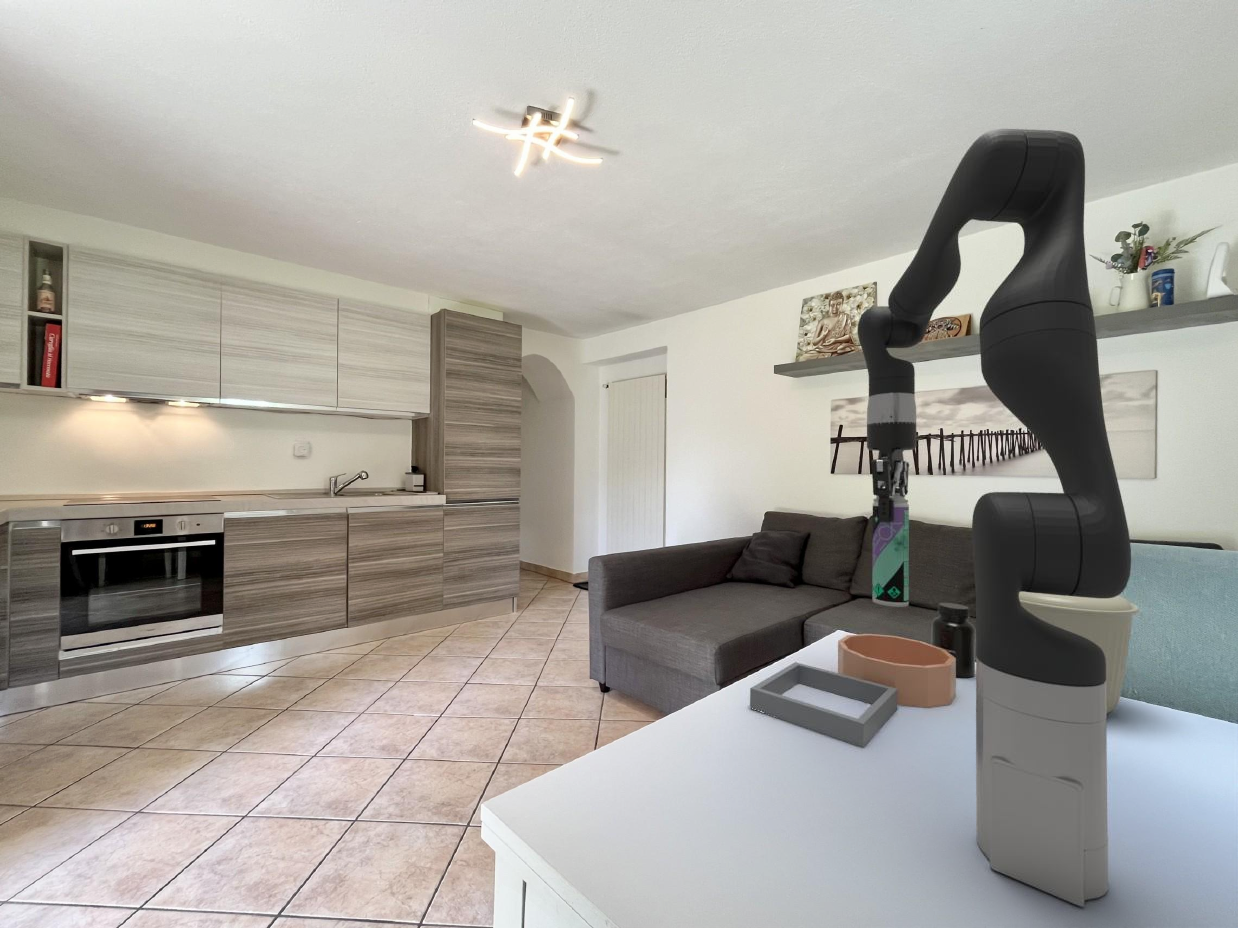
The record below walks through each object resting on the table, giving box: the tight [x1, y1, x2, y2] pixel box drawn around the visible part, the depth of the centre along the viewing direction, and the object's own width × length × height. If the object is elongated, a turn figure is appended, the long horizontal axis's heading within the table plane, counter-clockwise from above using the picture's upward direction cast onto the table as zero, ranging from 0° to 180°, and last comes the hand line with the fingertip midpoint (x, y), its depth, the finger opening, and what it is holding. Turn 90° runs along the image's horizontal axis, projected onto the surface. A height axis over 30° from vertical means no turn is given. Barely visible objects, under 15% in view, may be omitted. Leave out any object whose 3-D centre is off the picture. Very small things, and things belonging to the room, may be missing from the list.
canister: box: [1019, 592, 1140, 714], centre depth 82 cm, size 18×18×21 cm
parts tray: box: [749, 661, 898, 748], centre depth 77 cm, size 16×16×3 cm
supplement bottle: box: [930, 602, 976, 679], centre depth 95 cm, size 7×7×12 cm
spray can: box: [871, 487, 910, 608], centre depth 88 cm, size 6×6×20 cm
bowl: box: [837, 633, 957, 709], centre depth 87 cm, size 17×17×6 cm
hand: (890, 520), depth 88 cm, fingers closed on spray can, 5 cm apart
